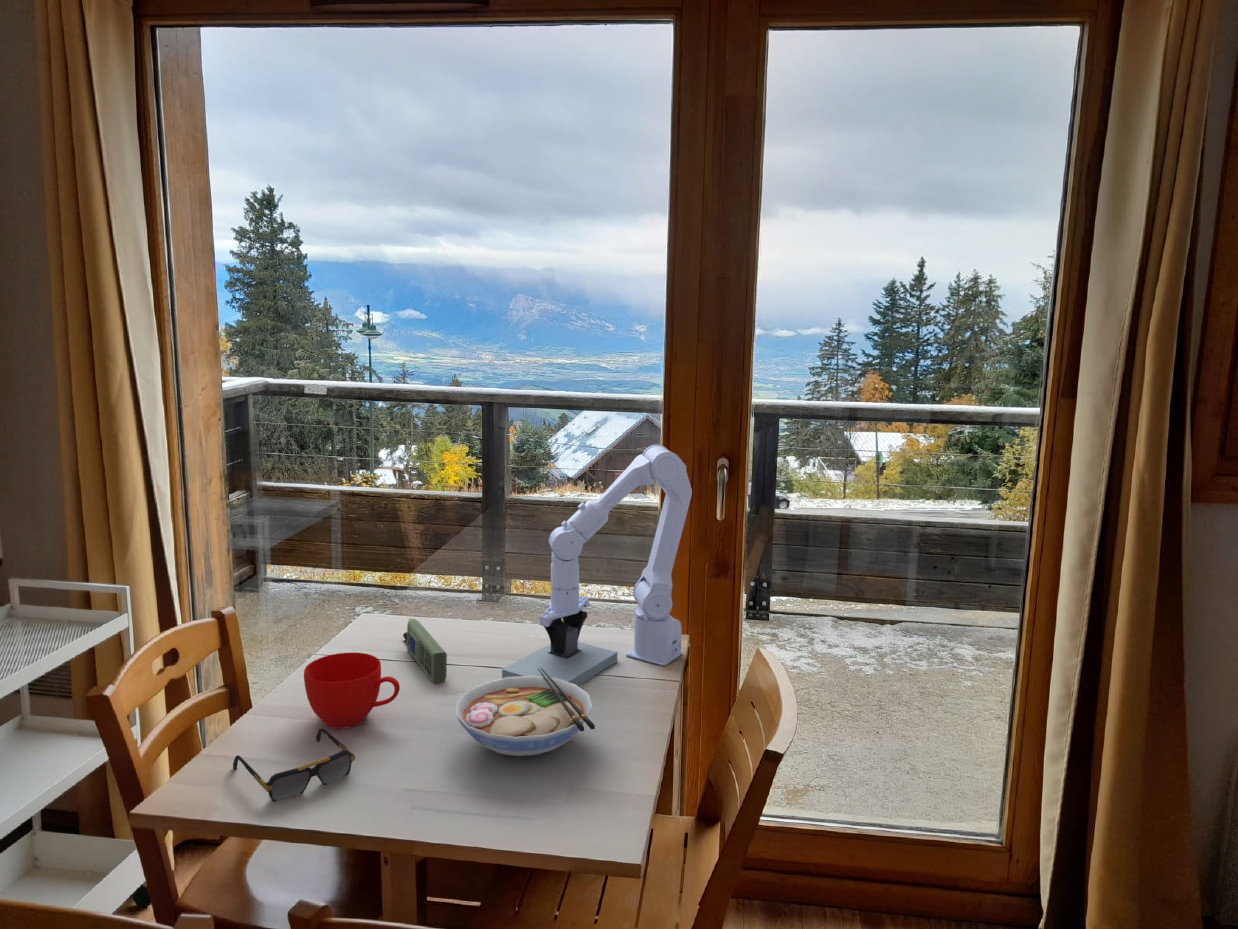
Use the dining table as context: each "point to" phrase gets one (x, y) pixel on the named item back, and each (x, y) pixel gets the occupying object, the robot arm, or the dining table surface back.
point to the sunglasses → (305, 772)
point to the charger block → (569, 643)
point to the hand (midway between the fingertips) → (564, 649)
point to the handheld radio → (426, 651)
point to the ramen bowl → (524, 714)
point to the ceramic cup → (345, 687)
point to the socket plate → (563, 664)
